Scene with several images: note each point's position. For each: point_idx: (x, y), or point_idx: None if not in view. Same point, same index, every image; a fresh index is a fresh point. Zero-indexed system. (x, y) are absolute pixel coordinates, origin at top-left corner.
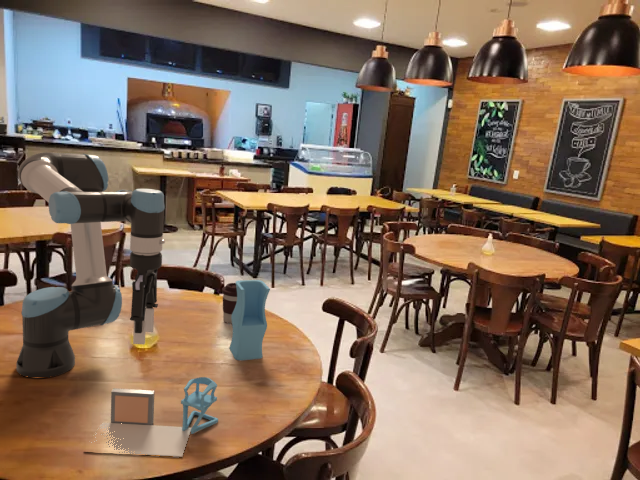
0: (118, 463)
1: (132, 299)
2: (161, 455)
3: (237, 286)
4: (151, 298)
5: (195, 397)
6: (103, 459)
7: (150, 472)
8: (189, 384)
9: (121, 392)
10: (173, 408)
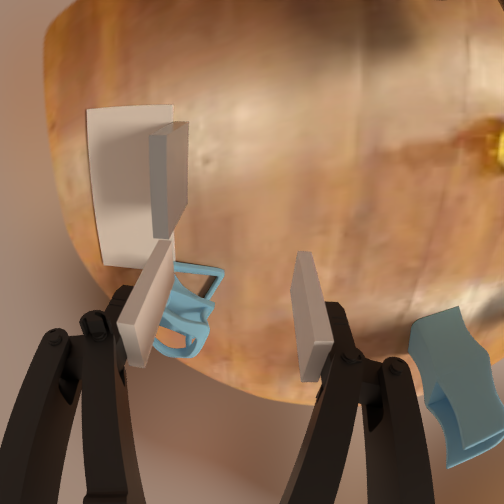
0: (74, 175)
1: (3, 440)
2: (99, 236)
3: (496, 428)
4: (304, 439)
5: (184, 307)
6: (78, 149)
7: (68, 226)
8: (169, 321)
9: (149, 162)
10: (241, 233)
